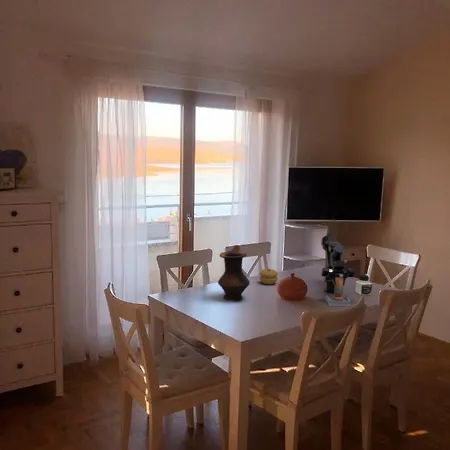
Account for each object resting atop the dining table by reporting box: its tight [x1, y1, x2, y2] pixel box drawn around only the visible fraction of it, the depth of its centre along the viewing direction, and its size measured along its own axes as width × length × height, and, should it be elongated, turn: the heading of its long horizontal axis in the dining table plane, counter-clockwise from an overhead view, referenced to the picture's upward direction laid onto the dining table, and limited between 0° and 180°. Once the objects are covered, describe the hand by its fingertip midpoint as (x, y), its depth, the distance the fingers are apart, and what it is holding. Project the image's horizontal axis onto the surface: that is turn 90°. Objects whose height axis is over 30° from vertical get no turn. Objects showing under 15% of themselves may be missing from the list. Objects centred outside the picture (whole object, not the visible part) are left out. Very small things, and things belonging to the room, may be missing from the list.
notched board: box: [325, 294, 352, 308], centre depth 288 cm, size 12×12×3 cm
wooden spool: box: [332, 276, 345, 300], centre depth 287 cm, size 6×6×12 cm
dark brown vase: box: [217, 244, 251, 301], centre depth 291 cm, size 21×18×30 cm
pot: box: [258, 268, 279, 285], centre depth 326 cm, size 12×12×10 cm
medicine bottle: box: [355, 273, 373, 296], centre depth 309 cm, size 7×7×12 cm
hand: (339, 285), depth 286 cm, fingers closed on wooden spool, 4 cm apart
